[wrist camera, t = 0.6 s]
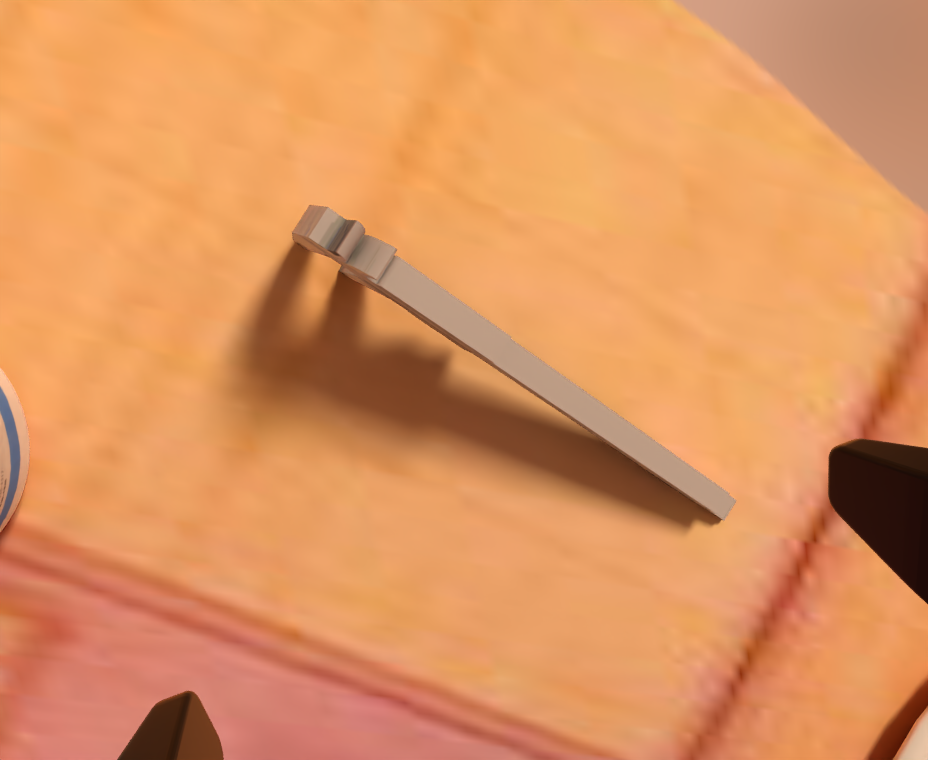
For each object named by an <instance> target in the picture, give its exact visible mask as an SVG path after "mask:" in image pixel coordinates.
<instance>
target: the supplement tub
mask: <svg viewBox="0 0 928 760" xmlns="http://www.w3.org/2000/svg"><path fill="white" fill-rule="evenodd" d="M29 461H30V442H29V432H28V426H27V422H26V418H25V414H24V411H23V408H22V405H21V403H20V400H19V398H18V396H17V394H16V392H15V390H14V388H13V385H12V384H11V382H10V381H9V379H8V378H7V376H6V375H5V373H4V372H3V370H2V369H1V368H0V532H1V531H2V530H3V528H4V527H5V526H6V524H7V523H8V521H9V520H10V518H11V516H12V515H13V513H14V511H15V510H16V508H17V505H18V503H19V501H20V499H21V496H22V493H23V490H24V487H25V484H26V480H27V476H28V469H29Z"/></svg>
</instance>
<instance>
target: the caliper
mask: <svg viewBox="0 0 928 760" xmlns="http://www.w3.org/2000/svg"><path fill="white" fill-rule="evenodd" d="M364 233H365V228H364V227H363V225H362V224H361V223H359V222H358V221H355V220H346V219H344V218H343V217H341V216H340V215H339V214H337V213H336V212H334V211H333V210H331V209H330V208H329V207H323V206H315V205H309V207H308V208H307V210H306V212H305V213H304V215H303V216H302V218H301V219H300V221H299V223H298V224H297V226H296V227H295V229H294V230H293V232H292V236H293V240H294V241H295V242H296V243H298V244H299V245H300V246H302V247H303V248H305V249H306V250H310V251H313V252H316V253H319V254H322V255H325V256H327V257H330V258H332V259H333V260H335V261H336V262H338V263H339V264H341V265H342V266H341V268H340V269H339V271H340V272H342V273H343V274H345V275H346V276H348V277H349V278H351V279H352V280H354V281H356V282H358V283H360V284H362V285H364V286H366V287H368V288H370V289H372V290H374V291H376V292H378V293H380V294H381V295H383V296H385V297H387V298H389V299H391V300H393V301H394V302H396V303H397V304H399V305H400V306H402V307H403V308H405V309H406V310H408V312H410V313H411V314H413V315H414V316H415V317H417V318H418V319H420V320H421V321H422V322H424V323H425V324H427V325H428V326H430V327H431V328H433V329H434V330H436V331H437V332H439V333H441V334H442V335H444V336H445V337H446V338H448V339H449V340H451V341H452V342H454V343H455V344H456V345H458V346H459V347H461V348H463V349H464V350H467V351H469V352H471V353H473V354H474V355H476V356H477V357H479V358H480V359H482V360H483V361H485V362H486V363H488V364H489V365H491V366H492V367H494V368H495V369H497V370H498V371H500V372H501V373H503V374H504V375H506V376H507V377H509V378H510V379H512V380H513V381H515V382H516V383H518V384H519V385H521V386H522V387H524V388H525V389H526V390H528V391H529V392H531V393H532V394H534V395H535V396H537V397H538V398H540V399H541V400H543V401H544V402H546V403H547V404H549V405H550V406H552V407H553V408H555V409H556V410H558V411H559V412H561V413H562V414H564V415H565V416H567V417H568V418H570V419H571V420H573V421H574V422H576V423H577V424H579V425H580V426H582V427H583V428H585V429H586V430H588V431H589V432H591V433H592V434H594V435H595V436H596V437H598V438H599V439H601V440H602V441H604V442H605V443H607V444H608V445H610V446H611V447H613V448H614V449H616V450H617V451H619V452H620V453H622V454H623V455H625V456H626V457H628V458H629V459H631V460H632V461H634V462H635V463H637V464H638V465H640V466H641V467H643V468H644V469H646V470H647V471H649V472H650V473H652V474H653V475H654V476H656V477H657V478H659V479H660V480H662V481H663V482H665V483H666V484H668V485H669V486H671V487H672V488H674V489H675V490H677V491H679V492H680V493H682V494H683V495H685V496H686V497H688V498H689V499H691V500H692V501H694V502H695V503H697V504H699V505H701V506H702V507H704V508H705V509H707V510H708V511H710V512H711V513H713V514H714V515H716V516H717V517H719V518H720V519H722V520H725V519H726V517H727V515H728V514H729V512H730V511H731V509H732V507H733V506H734V504H735V502H736V500H735V499H734V498H733V497H731V496H730V495H729V494H730V493H728V492H727V491H725V490H724V489H723V488H721V487H720V486H718V485H717V484H716V483H714V482H713V481H711V480H710V479H708V478H707V477H706V476H704V475H703V474H701V473H700V472H699V471H697V470H696V469H694V468H693V467H692V466H690V465H689V464H687V463H686V462H684V461H683V460H682V459H680V458H679V457H677V456H676V455H675V454H673V453H672V452H670V451H669V450H668V449H666V448H665V447H663V446H662V445H660V444H659V443H658V442H656V441H655V440H653V439H652V438H651V437H649V436H648V435H646V434H645V433H644V432H642V431H641V430H639V429H638V428H636V427H635V426H634V425H632V424H631V423H629V422H628V421H627V420H625V419H624V418H622V417H621V416H619V415H618V414H617V413H615V412H614V411H612V410H611V409H610V408H608V407H607V406H605V405H604V404H603V403H601V402H600V401H598V400H597V399H595V398H594V397H593V396H591V395H590V394H588V393H587V392H586V391H584V390H583V389H581V388H580V387H578V386H577V385H576V384H574V383H573V382H571V381H570V380H569V379H567V378H566V377H564V376H563V375H562V374H560V373H559V372H557V371H556V370H554V369H553V368H552V367H550V366H549V365H547V364H546V363H545V362H543V361H542V360H540V359H539V358H537V357H536V356H535V355H533V354H532V353H530V352H529V351H528V350H526V349H525V348H523V347H522V346H521V345H519V344H518V343H516V342H515V341H513V340H512V339H511V336H509V335H508V334H507V333H505V332H504V331H502V330H501V329H500V328H498V327H497V326H495V325H494V324H493V323H491V322H490V321H488V320H487V319H486V318H484V317H483V316H481V315H480V314H479V313H477V312H476V311H474V310H473V309H472V308H470V307H469V306H467V305H466V304H464V303H463V302H462V301H460V300H459V299H457V298H456V297H455V296H453V295H452V294H450V293H449V292H448V291H446V290H445V289H443V288H442V287H441V286H439V285H438V284H436V283H435V282H434V281H432V280H431V279H429V278H428V277H427V276H425V275H424V274H422V273H421V272H420V271H418V270H417V269H415V268H414V267H413V266H411V265H410V264H408V263H407V262H405V261H404V260H403V259H401V258H400V257H398V256H394V254H395V253H396V251H397V249H396V248H394V247H393V246H391V245H389V244H387V243H385V242H383V241H381V240H379V239H377V238H374V237H372V236H369V235H364Z"/></svg>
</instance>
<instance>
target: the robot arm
mask: <svg viewBox="0 0 928 760" xmlns="http://www.w3.org/2000/svg"><path fill="white" fill-rule="evenodd" d="M828 496H829V500H830V503H831V505H832V507H833V508H834V510H835V511H836V512H837V514H838V515H839V516H840V517H841V518H842V519H843V520H844V521H845V522H846V523H847V524H848V525H849V526H850V527H851V528H852V529H853V530H854V531H855V532H856V533H857V534H858V535H859V536H860V537H861V538H862V539H863V540H864V541H865V542H866V543H867V544H868V546H869V547H870V548H871V549H872V550H873V551H874V552H875V553H876V554H877V555H878V556H879V557H880V558H881V559H882V560H883V561H884V562H885V563H886V564H887V565H888V566H889V567H890V568H891V569H892V570H893V571H894V572H895V573H896V574H897V575H898V576H899V577H900V578H901V579H902V580H903V581H904V582H905V583H906V584H907V585H908V586H909V587H910V588H911V589H912V590H913V591H914V592H915V593H916V594H917V595H918V596H919V597H920V598H921V599H923V600H924V601H925V602H926V603H927V604H928V448H923V447H916V446H909V445H902V444H896V443H889V442H882V441H875V440H868V439H854V440H851V441H848V442H846V443H843V444H840V445H838V446H836V447H834V448H833V449H832V450H831V452H830V454H829V471H828ZM117 760H224V758H223V751H222V746H221V742H220V739H219V737H218V734H217V732H216V730H215V728H214V726H213V724H212V722H211V721H210V719H209V717H208V715H207V713H206V711H205V709H204V707H203V705H202V703H201V701H200V699H199V697H198V696H197V695H196V694H195V693H194V692H192V691H185V692H183V693H180V694H177V695H175V696H172V697H169V698H167V699H164V700H162V701H160V702H158V703H157V704H156V705H155V706H154V707H153V708H152V709H151V711H150V712H149V714H148V715H147V717H146V718H145V720H144V721H143V723H142V724H141V725H140V727H139V728H138V730H137V731H136V733H135V734H134V736H133V737H132V739H131V740H130V742H129V743H128V745H127V746H126V748H125V749H124V750H123V752H122V753H121V755H120V756H119V758H118V759H117Z"/></svg>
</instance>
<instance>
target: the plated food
mask: <svg viewBox="0 0 928 760" xmlns="http://www.w3.org/2000/svg"><path fill="white" fill-rule="evenodd" d="M893 760H928V707H927V708H926V709H925V710H924V712H923V713H922V714H921V715H920V716H919V718H918V719H917V720H916V722H915V723H914V725H913V727H912V728H911V730H910V732H909V733H908V735H907V737H906V738H905V740H904V742H903V743H902V745H901V747H900V749H899V750H898V752H897V754H896V755H895V757H894V759H893Z"/></svg>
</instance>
